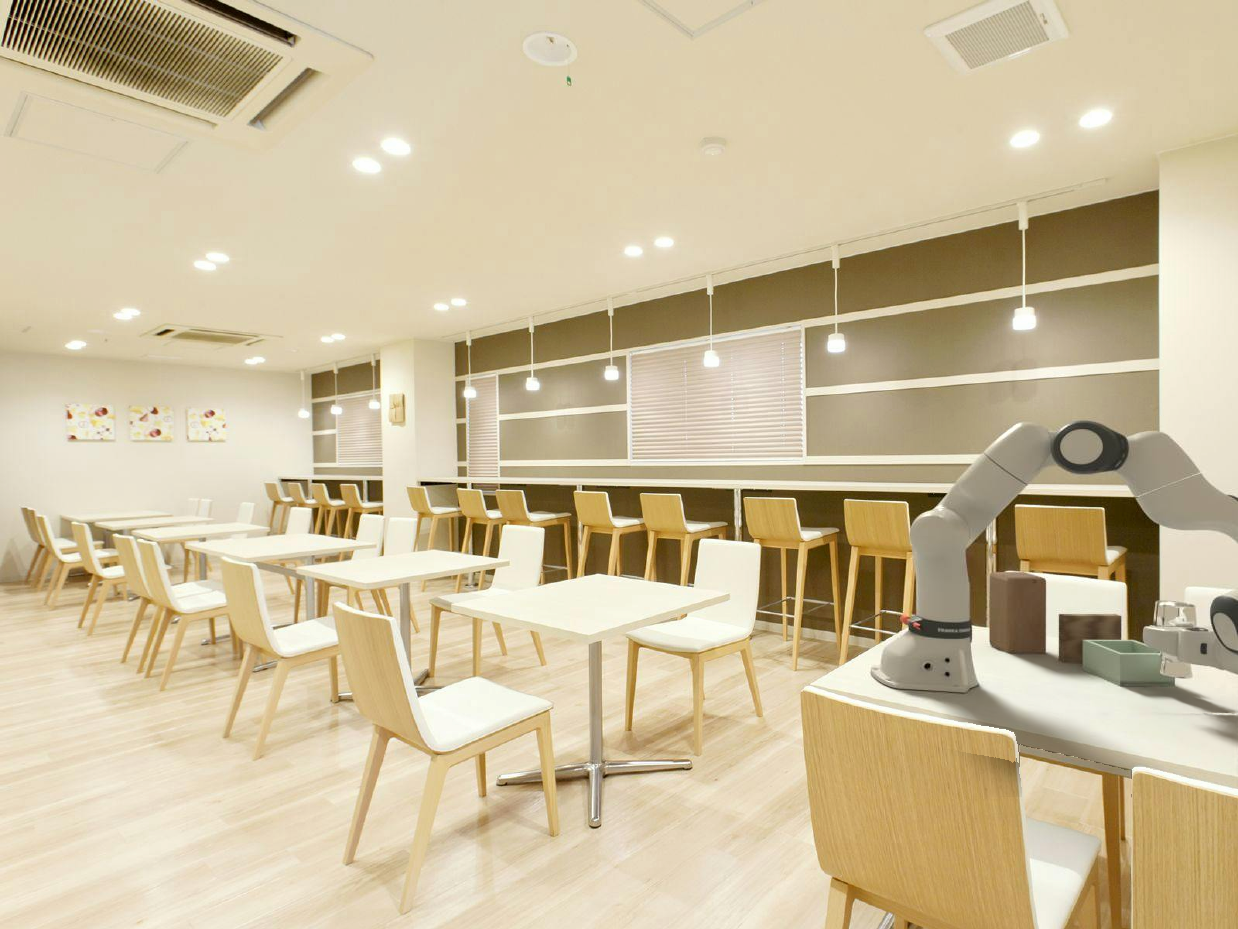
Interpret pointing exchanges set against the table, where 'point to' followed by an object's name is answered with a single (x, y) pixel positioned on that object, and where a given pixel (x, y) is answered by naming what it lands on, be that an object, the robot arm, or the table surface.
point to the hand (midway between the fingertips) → (1170, 629)
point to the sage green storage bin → (1124, 663)
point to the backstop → (1085, 633)
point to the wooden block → (1017, 612)
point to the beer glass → (1174, 617)
